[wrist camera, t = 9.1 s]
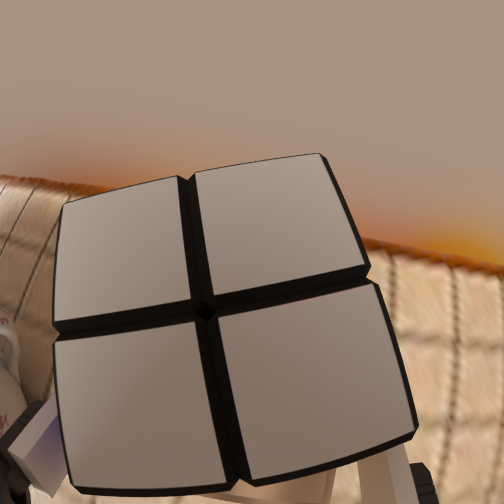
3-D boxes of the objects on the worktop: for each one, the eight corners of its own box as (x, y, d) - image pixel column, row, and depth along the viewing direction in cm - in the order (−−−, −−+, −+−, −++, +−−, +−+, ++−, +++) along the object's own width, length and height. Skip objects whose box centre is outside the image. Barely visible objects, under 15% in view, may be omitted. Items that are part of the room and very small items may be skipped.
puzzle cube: (137, 294, 19) (56, 199, 10) (296, 263, 20) (324, 145, 11) (161, 457, 15) (67, 496, 6) (339, 423, 16) (428, 435, 7)
